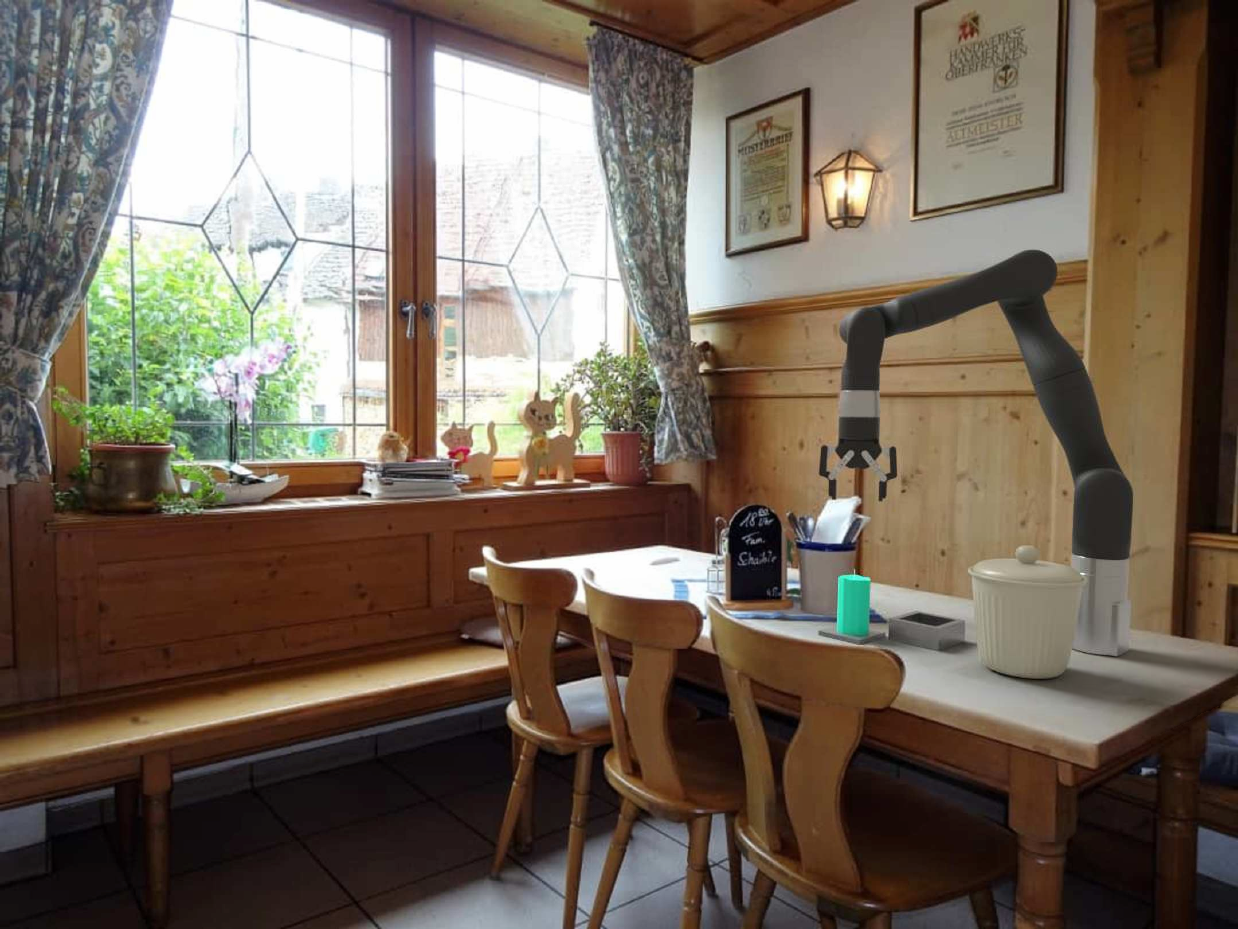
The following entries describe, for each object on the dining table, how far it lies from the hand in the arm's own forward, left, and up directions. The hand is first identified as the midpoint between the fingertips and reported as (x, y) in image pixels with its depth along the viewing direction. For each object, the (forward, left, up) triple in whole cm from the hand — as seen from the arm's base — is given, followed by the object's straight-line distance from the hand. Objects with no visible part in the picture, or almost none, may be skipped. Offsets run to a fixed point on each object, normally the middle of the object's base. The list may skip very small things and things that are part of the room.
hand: (857, 500), depth 164 cm
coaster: (0, 0, -26) cm, 26 cm away
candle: (0, 0, -26) cm, 26 cm away
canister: (-31, -3, -26) cm, 41 cm away
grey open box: (-11, -8, -26) cm, 29 cm away
